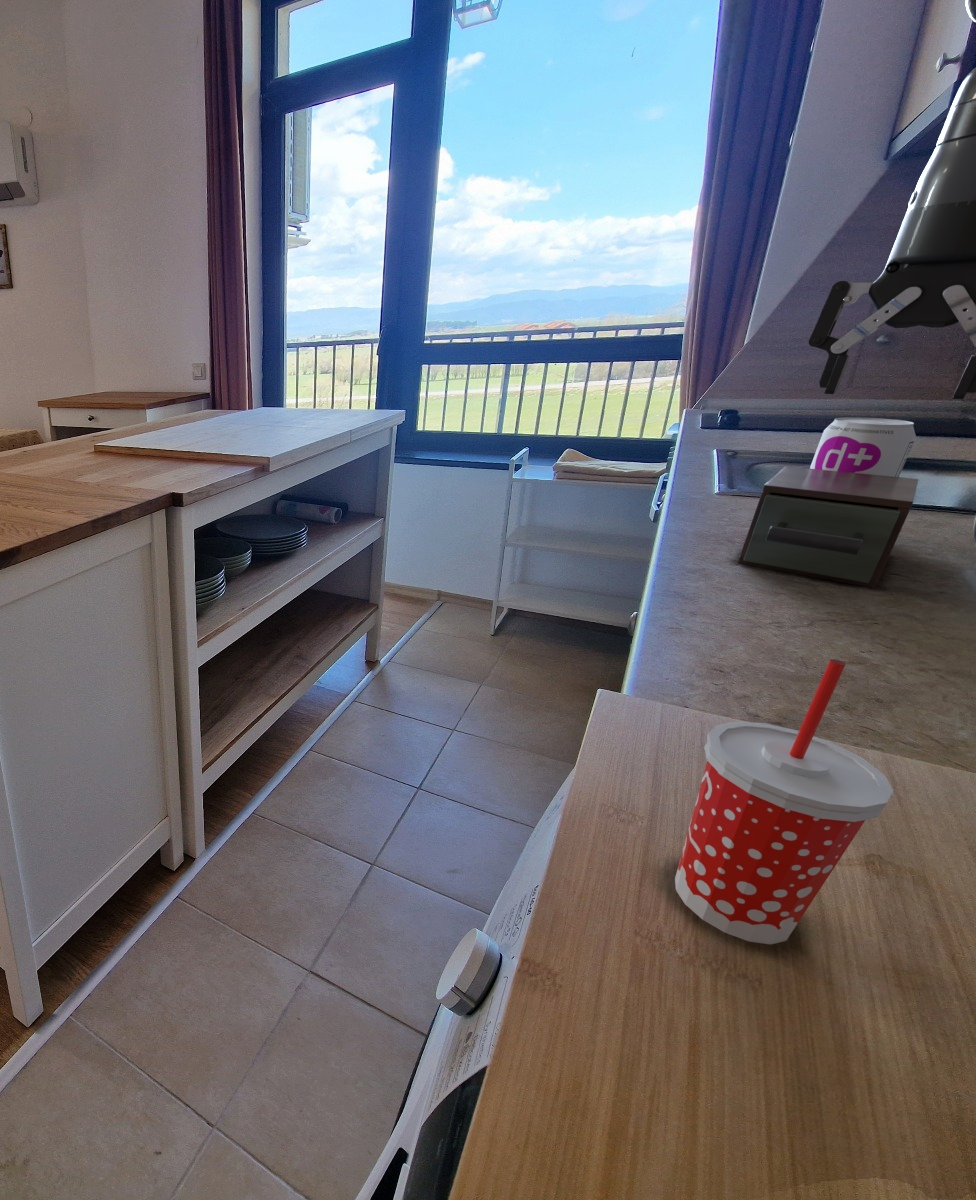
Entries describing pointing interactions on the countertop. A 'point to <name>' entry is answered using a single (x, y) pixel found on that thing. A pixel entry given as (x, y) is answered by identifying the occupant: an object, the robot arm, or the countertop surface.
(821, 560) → the drawer
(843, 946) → the countertop surface
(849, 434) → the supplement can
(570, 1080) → the countertop surface
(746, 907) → the beverage cup
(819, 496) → the cabinet
